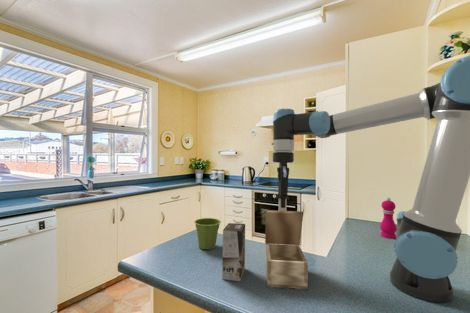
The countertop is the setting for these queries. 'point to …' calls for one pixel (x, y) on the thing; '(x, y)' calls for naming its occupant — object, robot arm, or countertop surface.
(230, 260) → the coffee box
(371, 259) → the countertop surface
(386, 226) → the pepper mill
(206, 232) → the plant pot
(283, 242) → the lid
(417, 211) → the robot arm
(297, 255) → the box
